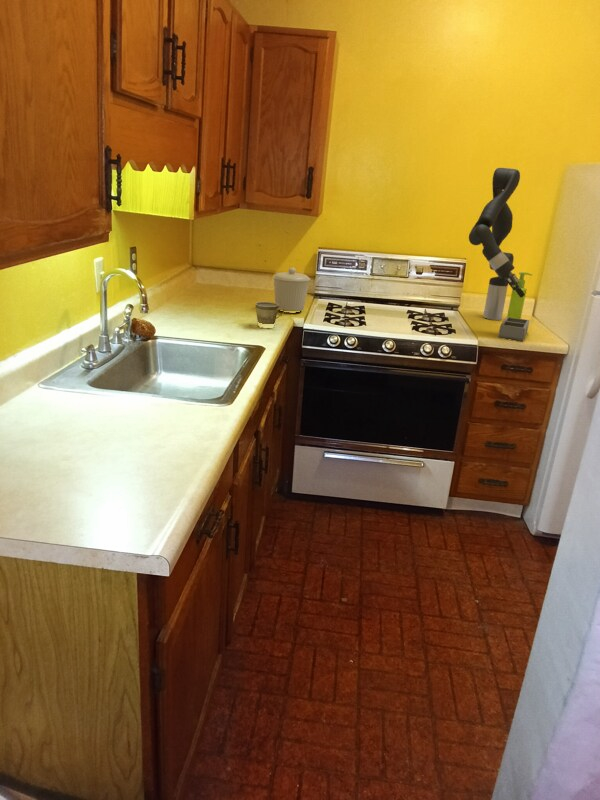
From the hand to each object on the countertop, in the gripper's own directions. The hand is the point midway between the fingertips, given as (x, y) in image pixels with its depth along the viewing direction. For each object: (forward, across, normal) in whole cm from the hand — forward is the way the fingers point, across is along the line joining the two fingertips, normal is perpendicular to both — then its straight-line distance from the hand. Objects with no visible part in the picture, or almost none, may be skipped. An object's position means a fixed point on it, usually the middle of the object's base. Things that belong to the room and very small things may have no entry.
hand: (523, 295), depth 272 cm
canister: (-59, -21, +88) cm, 108 cm away
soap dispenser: (+6, 0, +9) cm, 11 cm away
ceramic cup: (-54, -56, +83) cm, 113 cm away
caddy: (+13, +5, +15) cm, 20 cm away
